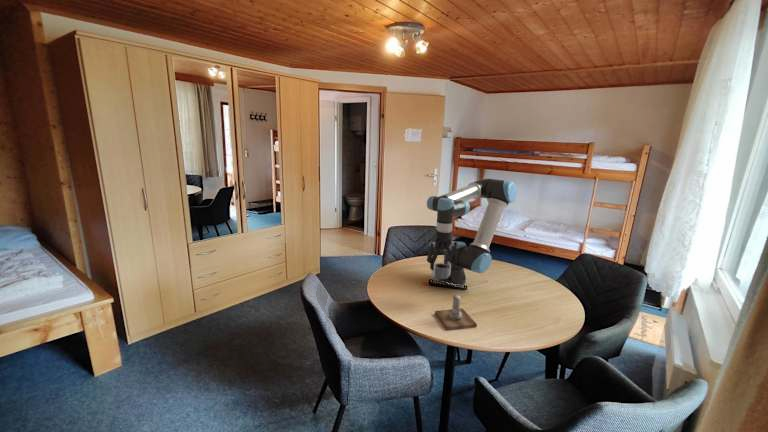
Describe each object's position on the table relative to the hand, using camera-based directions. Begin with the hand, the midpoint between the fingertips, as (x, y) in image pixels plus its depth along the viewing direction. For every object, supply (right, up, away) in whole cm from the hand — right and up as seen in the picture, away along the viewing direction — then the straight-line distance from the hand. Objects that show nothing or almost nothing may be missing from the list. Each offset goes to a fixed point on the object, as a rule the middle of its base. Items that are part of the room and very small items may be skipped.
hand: (440, 275), depth 162 cm
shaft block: (+4, -18, -13) cm, 23 cm away
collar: (0, 0, 0) cm, 0 cm away
